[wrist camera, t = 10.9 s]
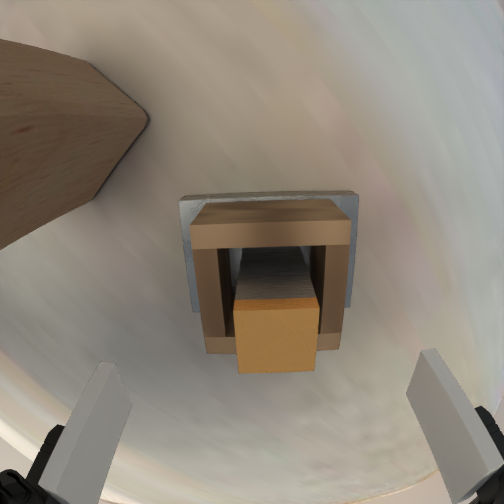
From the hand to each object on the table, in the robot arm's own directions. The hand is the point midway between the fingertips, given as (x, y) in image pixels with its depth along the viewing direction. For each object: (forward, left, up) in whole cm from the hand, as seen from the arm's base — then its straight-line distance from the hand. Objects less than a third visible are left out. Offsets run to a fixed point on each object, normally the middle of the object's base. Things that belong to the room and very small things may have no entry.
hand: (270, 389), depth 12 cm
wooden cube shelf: (0, 0, -14) cm, 14 cm away
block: (-16, +12, -16) cm, 26 cm away
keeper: (0, 0, -16) cm, 16 cm away
